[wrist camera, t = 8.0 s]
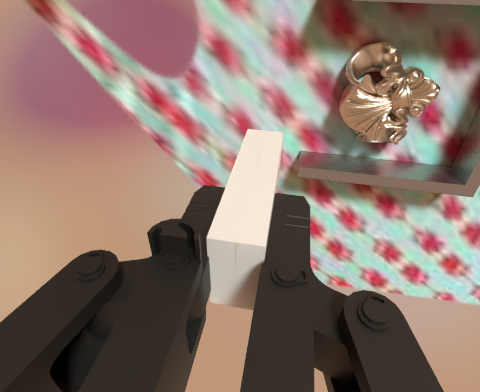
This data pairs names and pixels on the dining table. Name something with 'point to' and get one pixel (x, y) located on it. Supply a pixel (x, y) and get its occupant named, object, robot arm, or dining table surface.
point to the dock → (404, 173)
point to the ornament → (383, 94)
